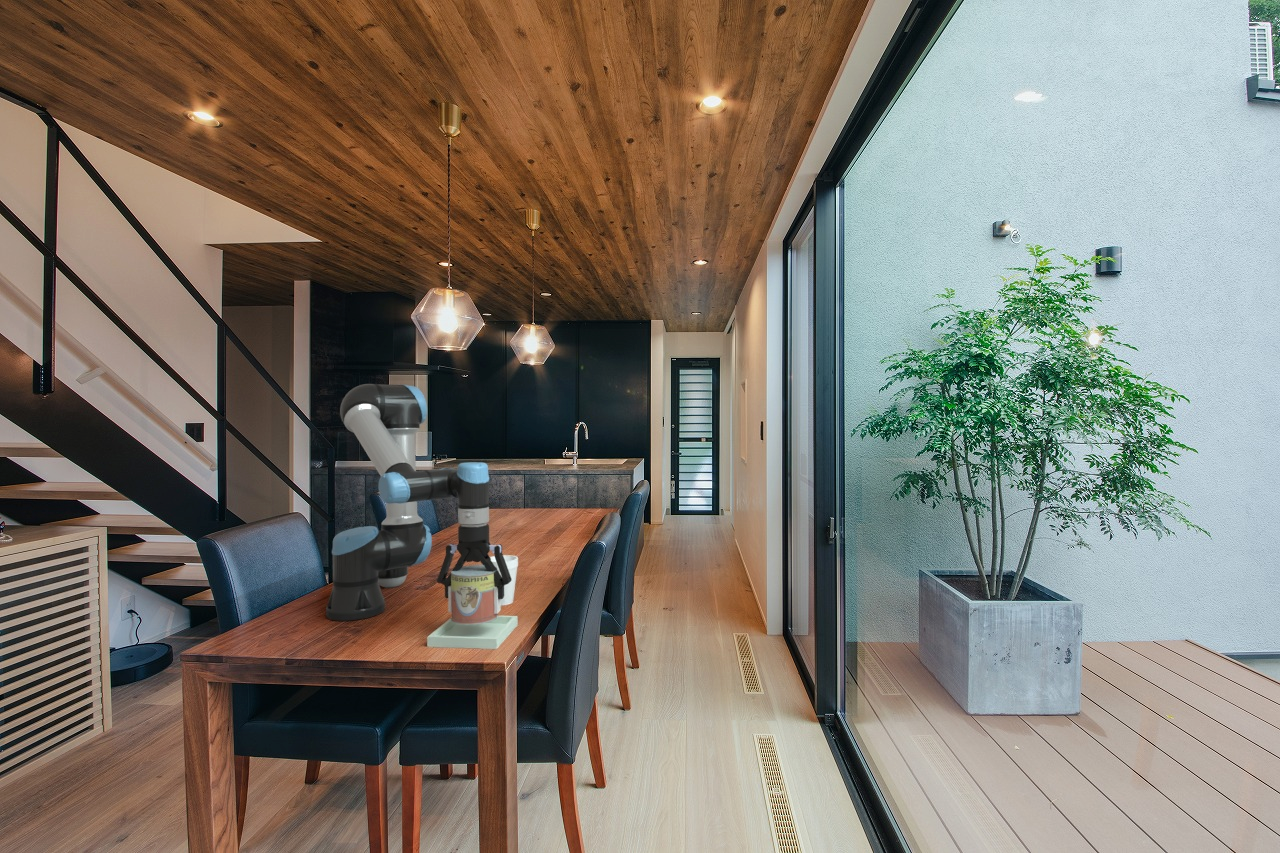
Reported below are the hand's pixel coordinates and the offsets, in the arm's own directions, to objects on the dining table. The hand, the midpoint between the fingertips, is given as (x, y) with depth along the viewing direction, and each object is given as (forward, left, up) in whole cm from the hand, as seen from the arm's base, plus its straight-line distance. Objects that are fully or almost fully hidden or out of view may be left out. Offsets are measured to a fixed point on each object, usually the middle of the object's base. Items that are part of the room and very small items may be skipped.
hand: (474, 611), depth 155 cm
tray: (0, 0, -6) cm, 6 cm away
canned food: (0, 0, -2) cm, 2 cm away
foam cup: (-2, +28, -6) cm, 29 cm away
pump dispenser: (-44, +43, -6) cm, 62 cm away
